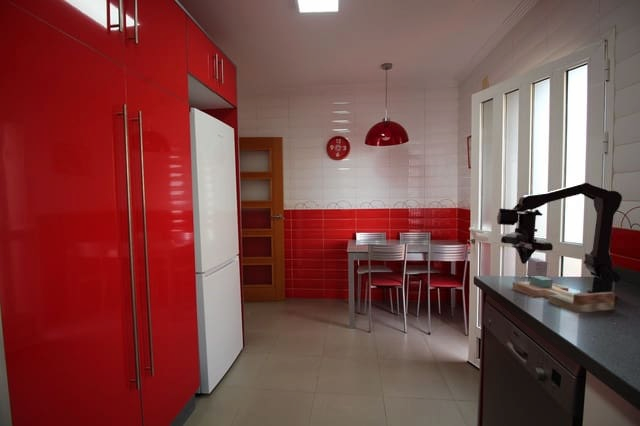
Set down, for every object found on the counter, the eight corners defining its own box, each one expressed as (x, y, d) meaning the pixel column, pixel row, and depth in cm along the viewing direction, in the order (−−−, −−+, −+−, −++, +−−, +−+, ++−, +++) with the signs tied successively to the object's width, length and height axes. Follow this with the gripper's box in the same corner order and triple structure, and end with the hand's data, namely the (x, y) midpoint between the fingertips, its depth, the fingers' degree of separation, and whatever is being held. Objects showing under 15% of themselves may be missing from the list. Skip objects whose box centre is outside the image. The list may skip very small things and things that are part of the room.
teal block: (539, 283, 119) (540, 275, 119) (552, 287, 114) (552, 279, 114) (529, 283, 118) (530, 276, 118) (541, 287, 113) (542, 280, 113)
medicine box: (546, 281, 130) (548, 262, 130) (534, 280, 131) (536, 261, 131) (537, 276, 138) (538, 258, 137) (526, 275, 139) (527, 257, 138)
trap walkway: (543, 286, 123) (544, 273, 123) (613, 309, 100) (615, 293, 99) (512, 288, 119) (513, 275, 119) (577, 312, 96) (578, 296, 96)
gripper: (491, 223, 129) (489, 259, 130) (532, 229, 111) (528, 270, 112) (512, 223, 132) (510, 258, 133) (555, 228, 114) (552, 269, 115)
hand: (523, 263), depth 123 cm, fingers closed
